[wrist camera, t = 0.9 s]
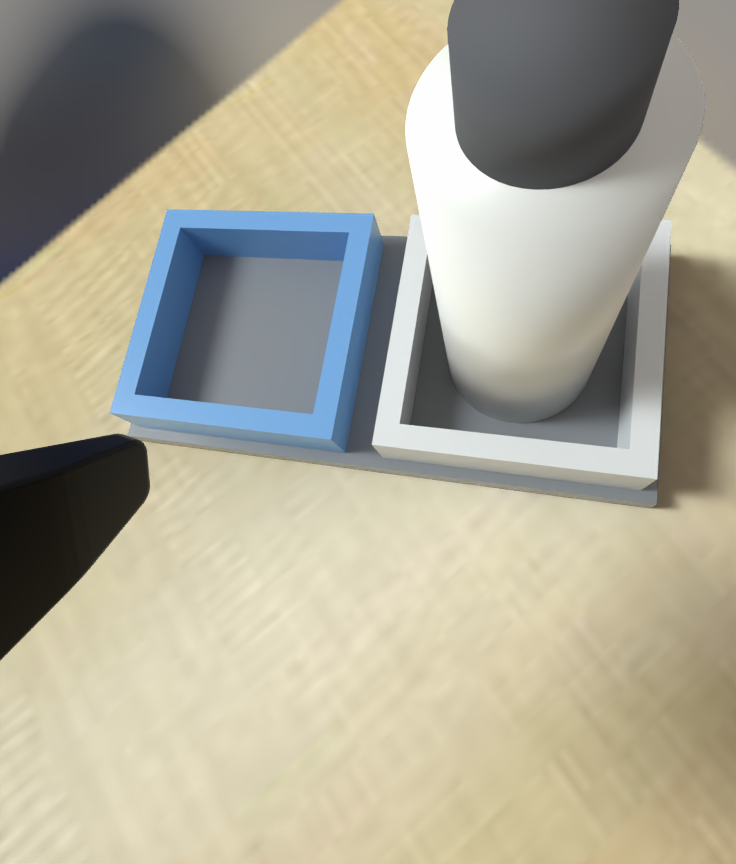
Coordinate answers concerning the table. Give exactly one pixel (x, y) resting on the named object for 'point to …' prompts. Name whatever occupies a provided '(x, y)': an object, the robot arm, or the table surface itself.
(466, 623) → the table surface
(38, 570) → the robot arm
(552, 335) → the white bottle
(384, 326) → the blue and white tray
